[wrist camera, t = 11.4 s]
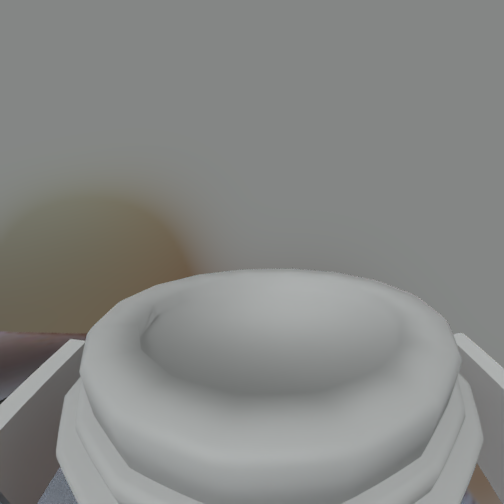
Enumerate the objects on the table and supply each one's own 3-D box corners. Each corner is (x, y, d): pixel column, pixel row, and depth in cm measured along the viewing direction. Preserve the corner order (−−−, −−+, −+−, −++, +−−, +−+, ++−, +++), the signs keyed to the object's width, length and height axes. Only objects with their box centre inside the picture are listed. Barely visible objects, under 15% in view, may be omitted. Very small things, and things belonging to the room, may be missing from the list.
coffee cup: (404, 598, 5) (600, 363, 2) (167, 644, 3) (-86, 494, 1) (332, 471, 14) (363, 251, 11) (159, 494, 12) (98, 268, 9)
